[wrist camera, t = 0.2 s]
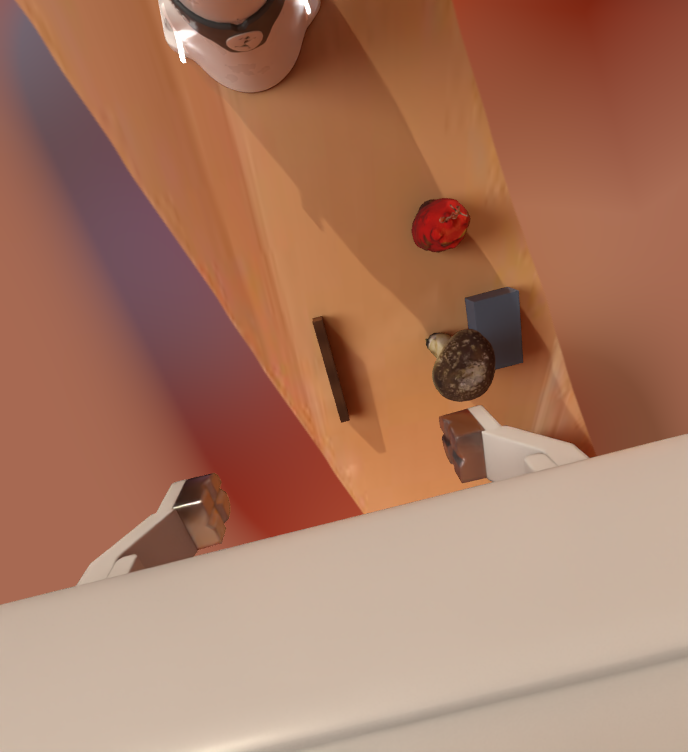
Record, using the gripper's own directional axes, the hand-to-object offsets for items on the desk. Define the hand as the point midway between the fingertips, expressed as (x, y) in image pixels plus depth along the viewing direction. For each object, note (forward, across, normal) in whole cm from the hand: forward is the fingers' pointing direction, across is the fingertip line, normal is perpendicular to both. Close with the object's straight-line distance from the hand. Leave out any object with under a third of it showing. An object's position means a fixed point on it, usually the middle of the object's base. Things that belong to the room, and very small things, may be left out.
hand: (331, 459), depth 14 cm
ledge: (+48, +1, +15) cm, 50 cm away
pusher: (+48, -26, +15) cm, 56 cm away
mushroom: (+48, -17, +15) cm, 53 cm away
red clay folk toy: (+48, -19, -3) cm, 51 cm away
